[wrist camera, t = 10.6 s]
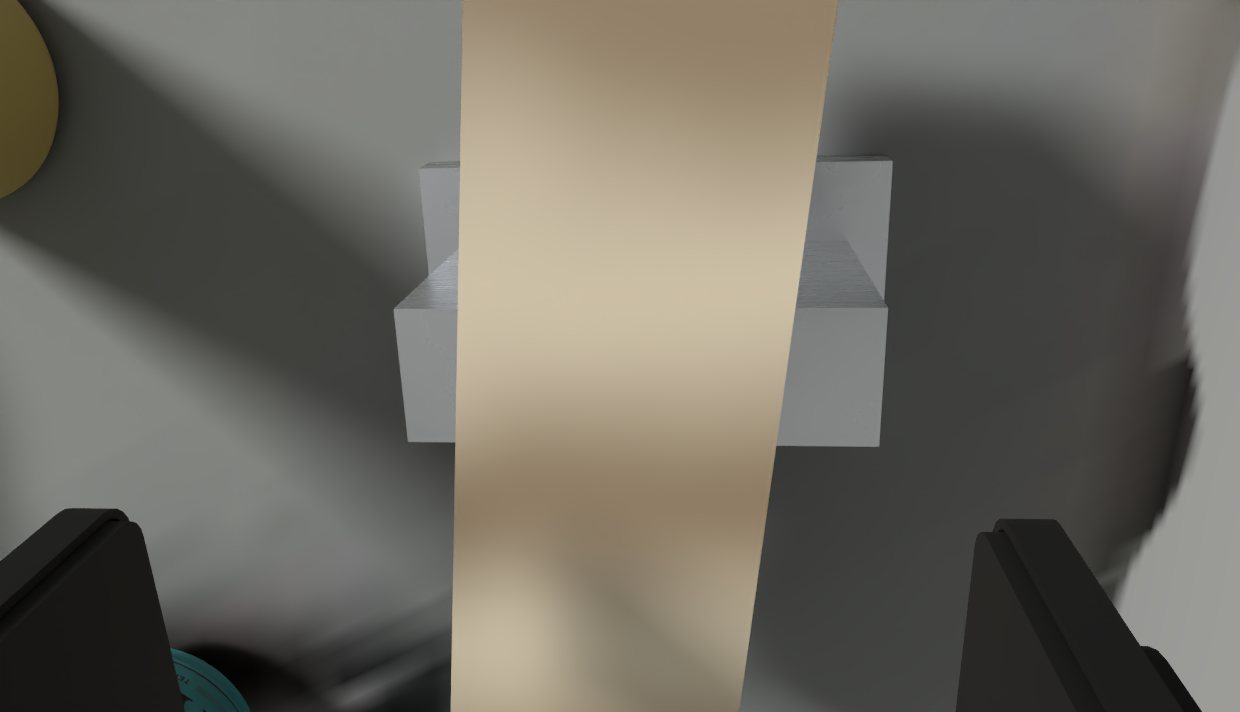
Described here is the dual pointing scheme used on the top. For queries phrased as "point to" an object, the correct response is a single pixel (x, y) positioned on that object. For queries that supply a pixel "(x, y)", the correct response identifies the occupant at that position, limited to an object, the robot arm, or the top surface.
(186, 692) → the beverage bottle
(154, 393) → the top surface
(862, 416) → the fulcrum
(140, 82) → the top surface
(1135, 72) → the top surface
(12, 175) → the brown bark cylinder
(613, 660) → the beam
